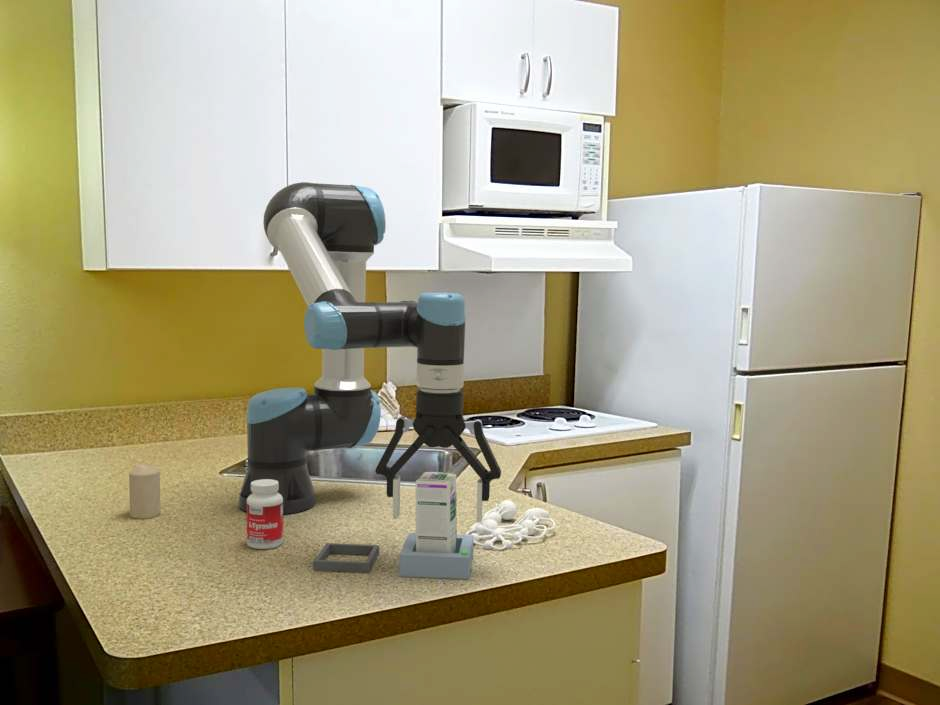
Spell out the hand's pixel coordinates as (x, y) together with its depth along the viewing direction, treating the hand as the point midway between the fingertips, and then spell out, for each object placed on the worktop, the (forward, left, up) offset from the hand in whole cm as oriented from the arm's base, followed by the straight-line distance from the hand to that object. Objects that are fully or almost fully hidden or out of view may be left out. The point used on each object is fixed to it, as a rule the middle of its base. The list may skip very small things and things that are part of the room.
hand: (437, 518), depth 137 cm
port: (0, 0, -8) cm, 8 cm away
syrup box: (0, 0, -8) cm, 8 cm away
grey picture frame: (-15, 0, -8) cm, 17 cm away
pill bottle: (-31, +7, -8) cm, 33 cm away
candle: (-59, +21, -8) cm, 63 cm away
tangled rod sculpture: (+12, +18, -8) cm, 23 cm away
